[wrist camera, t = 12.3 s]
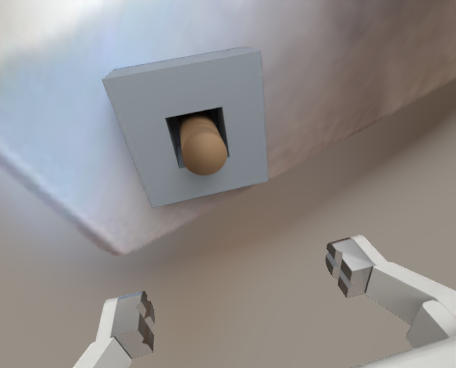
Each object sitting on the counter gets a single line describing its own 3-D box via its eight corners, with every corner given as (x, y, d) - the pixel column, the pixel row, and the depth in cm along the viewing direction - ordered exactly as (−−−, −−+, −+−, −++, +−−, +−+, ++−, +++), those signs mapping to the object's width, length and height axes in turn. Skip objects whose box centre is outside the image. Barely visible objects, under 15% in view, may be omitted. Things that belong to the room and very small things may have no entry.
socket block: (244, 46, 28) (261, 50, 23) (254, 159, 35) (268, 180, 30) (114, 69, 26) (101, 79, 21) (154, 181, 34) (151, 208, 29)
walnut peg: (207, 101, 30) (223, 130, 22) (213, 132, 32) (229, 170, 24) (174, 107, 29) (177, 139, 21) (182, 139, 32) (187, 179, 23)
